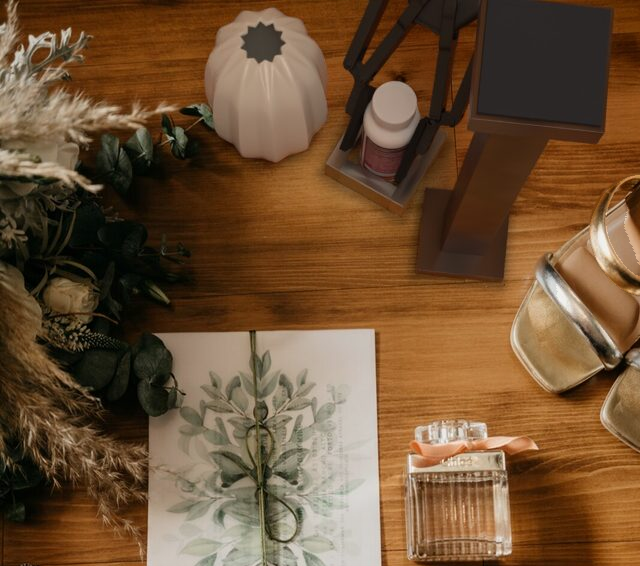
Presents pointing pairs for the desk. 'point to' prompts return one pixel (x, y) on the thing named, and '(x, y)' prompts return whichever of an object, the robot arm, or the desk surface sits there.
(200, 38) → the desk surface
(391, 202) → the stand
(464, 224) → the plant stand
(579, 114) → the mat
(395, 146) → the pill bottle
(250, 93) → the vase
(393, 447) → the desk surface
